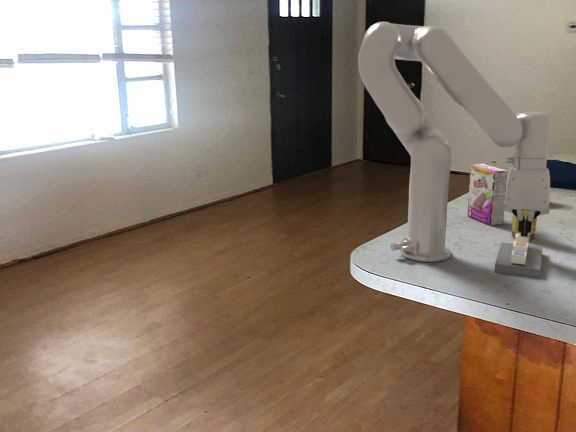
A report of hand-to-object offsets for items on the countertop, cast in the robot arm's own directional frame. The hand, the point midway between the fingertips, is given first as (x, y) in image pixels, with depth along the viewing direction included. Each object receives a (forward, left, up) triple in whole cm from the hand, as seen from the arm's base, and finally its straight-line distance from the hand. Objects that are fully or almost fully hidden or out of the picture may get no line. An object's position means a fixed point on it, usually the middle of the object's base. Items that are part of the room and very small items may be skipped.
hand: (524, 234), depth 155 cm
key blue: (-9, -8, -5) cm, 13 cm away
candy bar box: (+11, +28, -6) cm, 31 cm away
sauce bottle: (+10, +11, -6) cm, 16 cm away
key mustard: (0, 0, -4) cm, 4 cm away
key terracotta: (-6, -5, -4) cm, 9 cm away
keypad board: (-5, -4, -6) cm, 8 cm away
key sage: (-3, -2, -5) cm, 6 cm away
